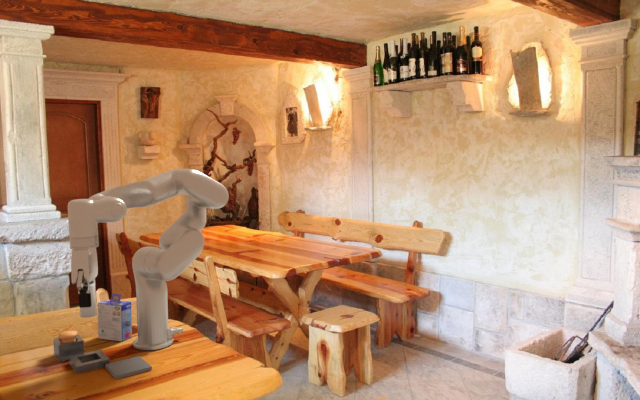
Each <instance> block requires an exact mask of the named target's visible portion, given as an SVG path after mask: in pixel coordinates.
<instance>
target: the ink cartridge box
mask: <svg viewBox="0 0 640 400" xmlns="http://www.w3.org/2000/svg"><path fill="white" fill-rule="evenodd" d="M114 297H117V298H114ZM121 299H122V294H117V293H112V295H111V297H110V299H106V300H103V301H100V302H97V333H98V334H97V335H98V336H97V338H98V339H101V340H108V341H114V342H124V341H126V340H128V339H131V338H133V328H132V327H133V325H132V324H133V321H132V319H133V318H132V317H133V316H132V301H129V300H128V301H125V300H121Z"/></svg>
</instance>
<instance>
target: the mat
mask: <svg viewBox="0 0 640 400" xmlns="http://www.w3.org/2000/svg"><path fill="white" fill-rule="evenodd" d="M104 368H105V369H106V370H107V371H108V372H109V374H111V376H112V377H114V379H115V380H118V379H122V378H126V377H131V376H134V375H138V374H142V373H145V372H151V371H152V370H153V367H152V365H151V364H149V362H148V361H146V360H145V359H144V358H143V357H142V356H140V355H137V356H133V357H129V358H125V359H122V360H117V361H113V362H110V363H108V364H105V367H104Z"/></svg>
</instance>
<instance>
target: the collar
mask: <svg viewBox="0 0 640 400" xmlns="http://www.w3.org/2000/svg"><path fill="white" fill-rule="evenodd" d="M110 361H111V359H110V357H108V355H106V354H105V352H103V350H101V349H98V350H94V351H90V352H84V354H80V355H75V356H71V357H69V360H68V363H69V365H70V367H71V368H72V369H73V370H74V372H75V373H76V374H77V375H78V374H81V373H86V372H90V371H93V370H98V369H102V368H105V364H108V363H111V362H110Z"/></svg>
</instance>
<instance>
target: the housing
mask: <svg viewBox="0 0 640 400" xmlns="http://www.w3.org/2000/svg"><path fill="white" fill-rule="evenodd" d="M84 353H85V340H84V339H83V338H82V337H81V336H80V335H79V334H78V336H77V337H76V341H72V342H67V343H61V339H59V337H56V338H53V355H54V357H55V356H56V357H55V358H56V360H59V361H58V363H61V362H65V360H66V361H69V357H71V356H75V355H80V354H84Z"/></svg>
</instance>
